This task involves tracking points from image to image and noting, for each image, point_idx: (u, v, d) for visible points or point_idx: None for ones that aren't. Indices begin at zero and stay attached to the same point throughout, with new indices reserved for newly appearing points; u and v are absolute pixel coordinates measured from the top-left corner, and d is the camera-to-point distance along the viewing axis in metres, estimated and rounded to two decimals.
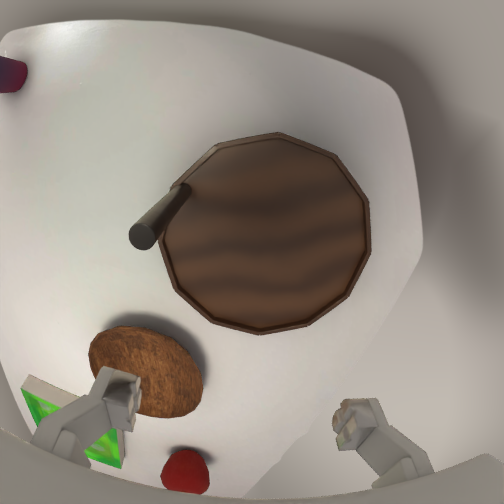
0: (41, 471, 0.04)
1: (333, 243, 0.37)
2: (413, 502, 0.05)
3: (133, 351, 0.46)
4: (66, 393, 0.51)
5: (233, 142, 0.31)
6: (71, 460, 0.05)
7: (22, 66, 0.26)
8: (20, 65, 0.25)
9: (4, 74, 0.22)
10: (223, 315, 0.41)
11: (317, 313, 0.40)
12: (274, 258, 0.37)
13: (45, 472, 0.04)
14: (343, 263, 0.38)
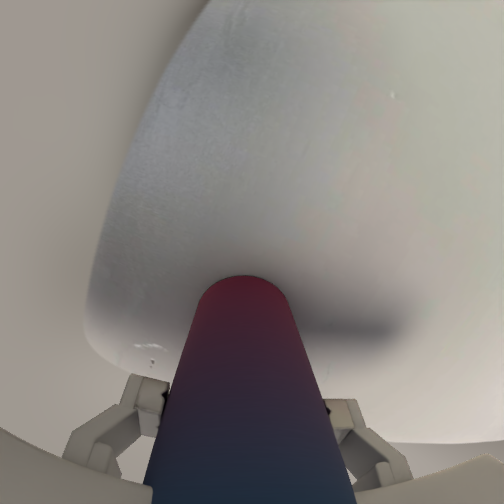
0: (41, 471, 0.04)
1: None
2: (413, 502, 0.05)
3: None
4: None
5: None
6: (107, 473, 0.06)
7: (234, 288, 0.14)
8: (231, 293, 0.13)
9: (284, 352, 0.10)
10: None
11: None
12: None
13: (45, 472, 0.04)
14: None
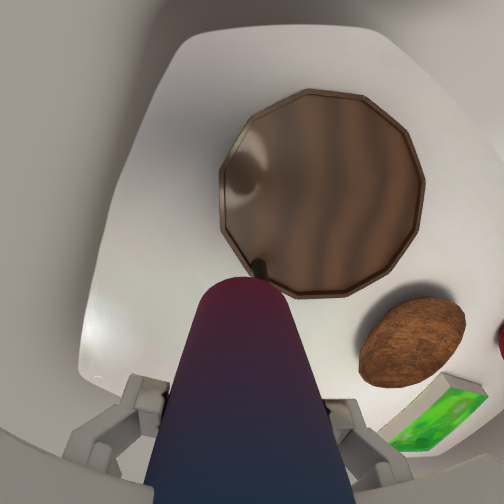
0: (41, 471, 0.04)
1: (346, 133, 0.31)
2: (413, 502, 0.05)
3: (390, 343, 0.47)
4: (402, 413, 0.57)
5: (221, 215, 0.34)
6: (107, 473, 0.06)
7: (234, 289, 0.14)
8: (231, 294, 0.13)
9: (284, 353, 0.10)
10: (387, 258, 0.38)
11: (415, 167, 0.32)
12: (346, 197, 0.34)
13: (45, 472, 0.04)
14: (370, 127, 0.31)
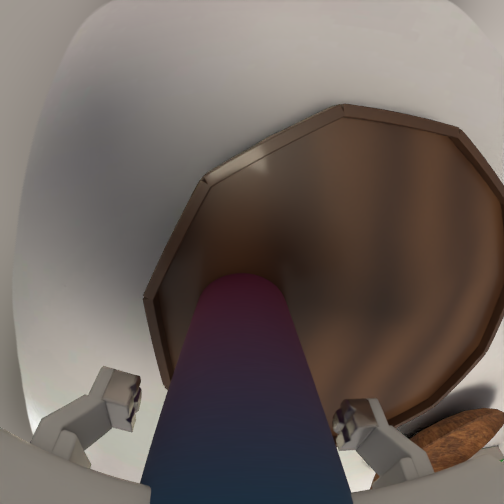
0: (41, 471, 0.04)
1: (416, 207, 0.14)
2: (413, 502, 0.05)
3: None
4: None
5: (161, 366, 0.17)
6: (71, 460, 0.05)
7: (232, 284, 0.14)
8: (229, 290, 0.14)
9: (280, 345, 0.10)
10: (434, 388, 0.21)
11: None
12: (395, 325, 0.17)
13: (45, 472, 0.04)
14: (458, 193, 0.14)
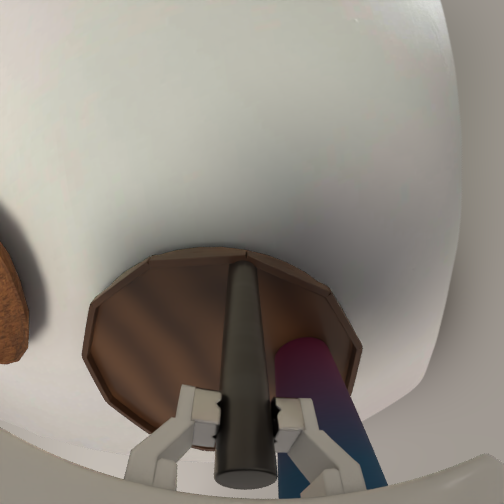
0: (41, 471, 0.04)
1: None
2: (413, 502, 0.05)
3: None
4: None
5: (338, 310, 0.22)
6: (174, 489, 0.06)
7: None
8: None
9: None
10: (98, 360, 0.25)
11: None
12: None
13: (45, 472, 0.04)
14: None
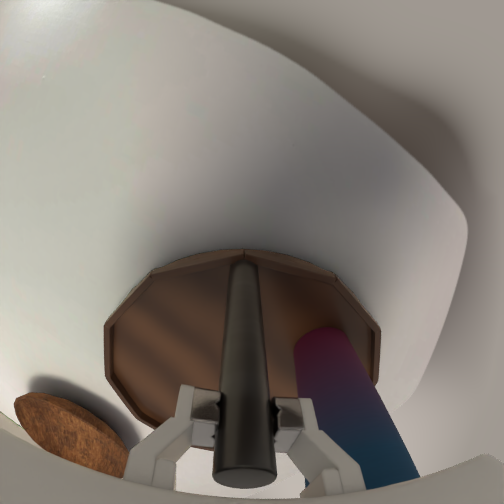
0: (41, 471, 0.04)
1: None
2: (413, 502, 0.05)
3: (62, 410, 0.32)
4: None
5: (348, 296, 0.21)
6: (173, 489, 0.06)
7: None
8: None
9: None
10: (122, 379, 0.26)
11: None
12: None
13: (45, 472, 0.04)
14: None
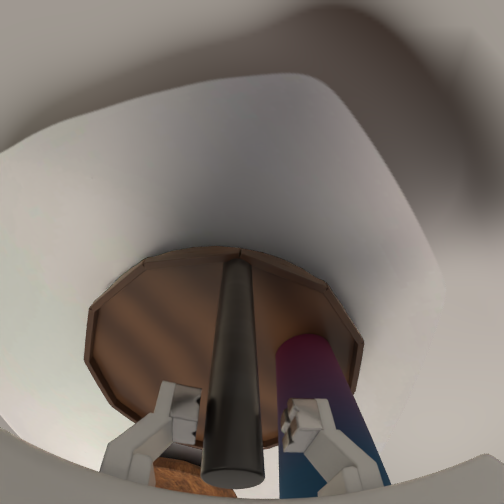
0: (41, 471, 0.04)
1: None
2: (413, 502, 0.05)
3: None
4: None
5: (337, 306, 0.22)
6: (148, 484, 0.06)
7: None
8: None
9: None
10: (101, 364, 0.25)
11: None
12: (206, 390, 0.27)
13: (45, 472, 0.04)
14: None
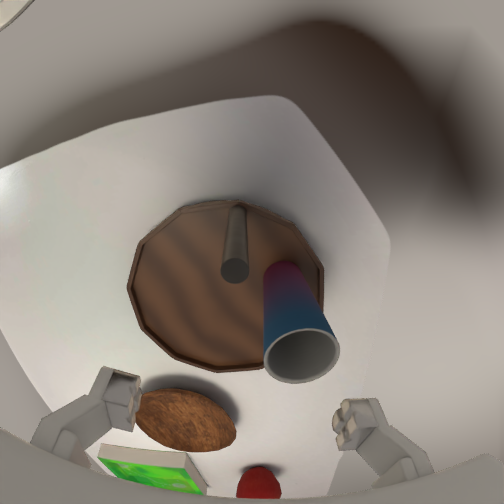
0: (41, 471, 0.04)
1: (251, 341, 0.42)
2: (413, 502, 0.05)
3: (169, 405, 0.51)
4: (135, 450, 0.60)
5: (301, 238, 0.35)
6: (71, 460, 0.05)
7: None
8: None
9: None
10: (138, 292, 0.39)
11: (187, 359, 0.43)
12: (215, 308, 0.40)
13: (45, 472, 0.04)
14: (239, 355, 0.43)
